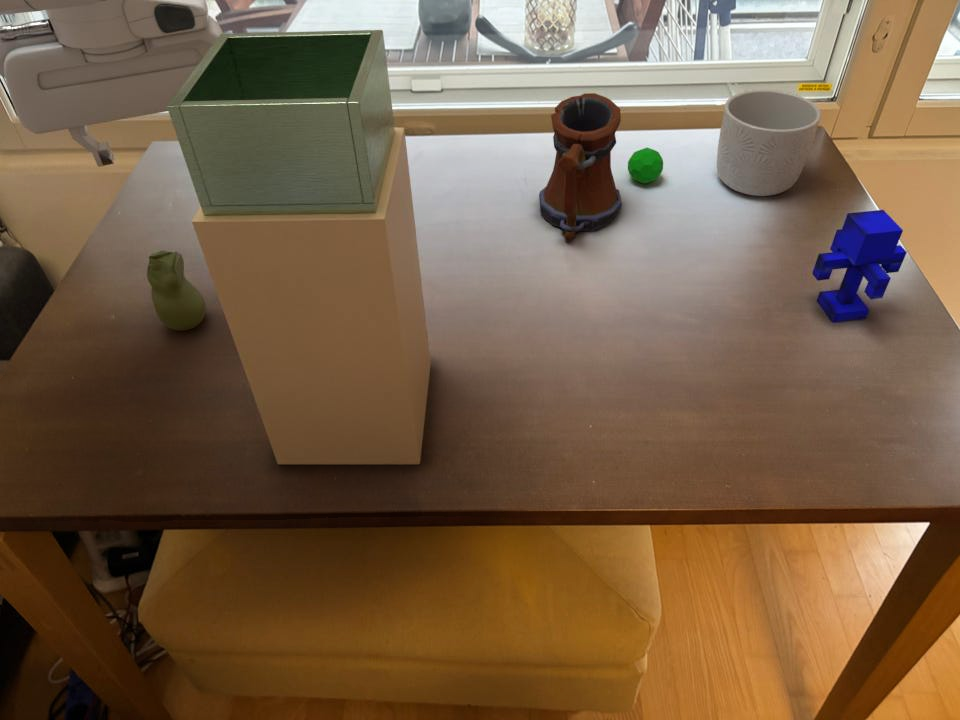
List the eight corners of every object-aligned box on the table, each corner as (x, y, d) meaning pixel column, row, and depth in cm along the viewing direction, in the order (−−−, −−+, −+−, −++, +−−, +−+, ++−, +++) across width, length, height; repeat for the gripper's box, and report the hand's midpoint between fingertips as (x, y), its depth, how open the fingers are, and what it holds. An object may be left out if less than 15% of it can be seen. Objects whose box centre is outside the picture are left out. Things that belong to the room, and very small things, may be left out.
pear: (169, 311, 91) (140, 243, 84) (213, 307, 91) (188, 238, 84) (161, 342, 87) (130, 273, 80) (207, 337, 87) (180, 268, 80)
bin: (277, 464, 73) (152, 111, 48) (305, 365, 83) (214, 30, 58) (419, 464, 72) (368, 107, 47) (430, 364, 82) (393, 25, 57)
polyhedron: (666, 186, 107) (670, 156, 104) (634, 191, 107) (637, 161, 103) (652, 169, 111) (656, 140, 108) (621, 174, 110) (624, 144, 107)
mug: (605, 267, 94) (616, 159, 84) (517, 254, 97) (517, 148, 86) (626, 193, 107) (638, 91, 96) (547, 183, 109) (551, 83, 99)
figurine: (884, 304, 87) (923, 216, 79) (863, 339, 83) (902, 251, 75) (819, 281, 91) (850, 194, 82) (796, 314, 86) (826, 226, 78)
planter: (789, 160, 112) (809, 89, 104) (808, 205, 103) (831, 131, 95) (705, 159, 113) (718, 89, 105) (716, 203, 104) (732, 130, 96)
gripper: (-30, 42, 62) (43, 190, 71) (221, 5, 66) (259, 148, 76) (-21, 17, 66) (47, 159, 76) (215, -16, 70) (251, 122, 80)
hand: (155, 153), depth 76 cm, fingers open, 8 cm apart
